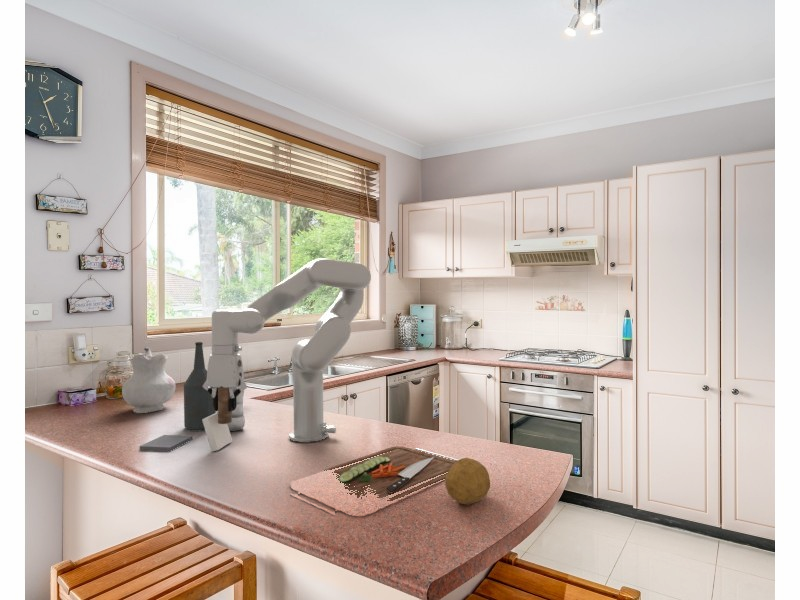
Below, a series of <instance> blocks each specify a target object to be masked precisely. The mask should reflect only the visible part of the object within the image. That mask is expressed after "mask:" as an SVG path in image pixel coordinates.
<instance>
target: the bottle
mask: <svg viewBox="0 0 800 600" xmlns="http://www.w3.org/2000/svg"><path fill="white" fill-rule="evenodd" d="M194 344H195V345H194V346H195V352H194V359H193V360H194V362H193V369H192V371H191V373H190V374H189V375H188V378H186V380H185V382H184V383H183V413H184V414H183V415H184V416H183V418H184V421H183V423H184V424H183V425H184V428H185V429H186V430H187V431H188V430H190V431H189V432H200V431H201V430H202V431H205V428H204V425H203V422H202V419H204V418H206V417H208V416H210V415H213V414H215V413H217V411H214V407H213V398H212V395H211V394H210V393H209V392H208V391H207V390H206V389H204V388H203V385H204V383H205V381H206V380H207V369H206V365H205V364H206V363H205V357H204V349H203V344H204V343H203V342H202V341H197V342H196V341H195V343H194Z"/></svg>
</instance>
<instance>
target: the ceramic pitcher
mask: <svg viewBox="0 0 800 600" xmlns="http://www.w3.org/2000/svg"><path fill="white" fill-rule="evenodd" d="M143 351H144V352H139V353H136V354H133V357H129V361H130V364H131V367H132V370H133V371H132V372H133V373H132V375H130V377H129V378H127V379H126V381H124V382H123V384H122V386H121V394H122V398H123V400H124V402H126V404H128V405H129V406H131V407H134V409H133V410H132V412H133V413H135V412H136V413H145V414H149V413H152V412H157V411H163V410H165V409H166V407H165V405H164V404H166V403H168V402H169V401H170V400H171V399H172V398H173V396H174V394H175V391H176V381H175V380H174V379H173V377H171V376H170V375H168V373H166V369H165V368H166V367H165V366H166V362H167V360H168V355H167V354H166V355H165V354H164V353H163V352H158V353H157V354H155V355H152V350H151V348H150V347H147V346H145V347H144V348H143ZM148 412H149V413H148ZM136 413H135V414H136Z"/></svg>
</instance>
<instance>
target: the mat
mask: <svg viewBox="0 0 800 600" xmlns="http://www.w3.org/2000/svg"><path fill="white" fill-rule="evenodd" d="M193 437H194V436H193V435H179V434H177V435H176V434H163V435H161V436H158V437H156V438H155V439H152V440H149V441H147V442H146V443H143V444H141V445H139V451H148V452H149V451H150V452H151V451H153V452H155V451H156V452H172V451H174V450H175V448H176V449H178V448H179V446H180V447H181V446H183V445H185V444H187V443H189V442H191V441H193V439H194V438H193ZM188 441H189V442H188ZM186 442H187V443H186ZM184 443H185V444H184ZM182 444H183V445H182ZM177 447H178V448H177ZM173 449H174V450H173ZM171 450H172V451H171Z"/></svg>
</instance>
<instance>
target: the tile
mask: <svg viewBox="0 0 800 600" xmlns="http://www.w3.org/2000/svg"><path fill="white" fill-rule="evenodd" d="M202 422H203V425H204V428H205V430H204V431H205V434H206V438H207V442H208V444H209V448H210V451H211V450H212V451H213V452H215V451H216V452H217V451H219V450H220V449H222V448H224V447H225V446H227V445H228V444H230V443H231V442H233V438H232V435H231V431H229V428H228V425H227V424H219V423H218V411H216V413H215V414H213V415H210V416H208V417H206V418H204V419H202ZM212 451H211V452H212Z"/></svg>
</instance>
